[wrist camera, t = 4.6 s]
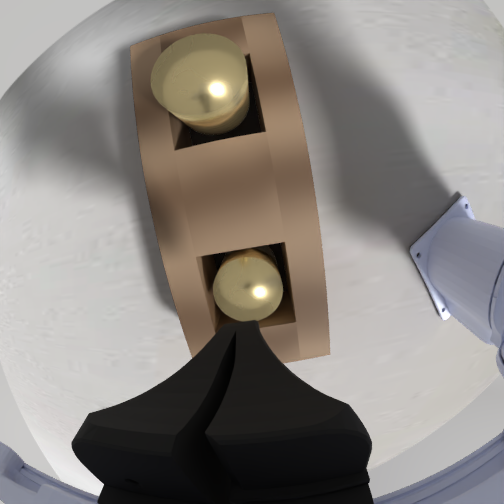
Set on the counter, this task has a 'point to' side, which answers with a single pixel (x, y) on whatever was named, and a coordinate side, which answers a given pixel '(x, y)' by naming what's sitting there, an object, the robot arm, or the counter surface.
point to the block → (235, 193)
